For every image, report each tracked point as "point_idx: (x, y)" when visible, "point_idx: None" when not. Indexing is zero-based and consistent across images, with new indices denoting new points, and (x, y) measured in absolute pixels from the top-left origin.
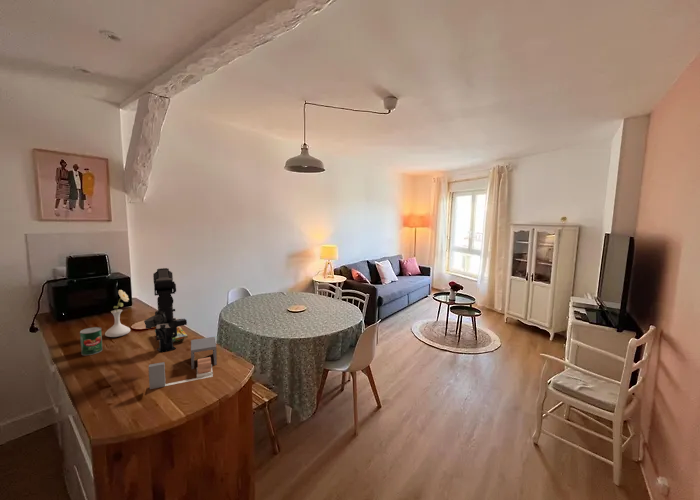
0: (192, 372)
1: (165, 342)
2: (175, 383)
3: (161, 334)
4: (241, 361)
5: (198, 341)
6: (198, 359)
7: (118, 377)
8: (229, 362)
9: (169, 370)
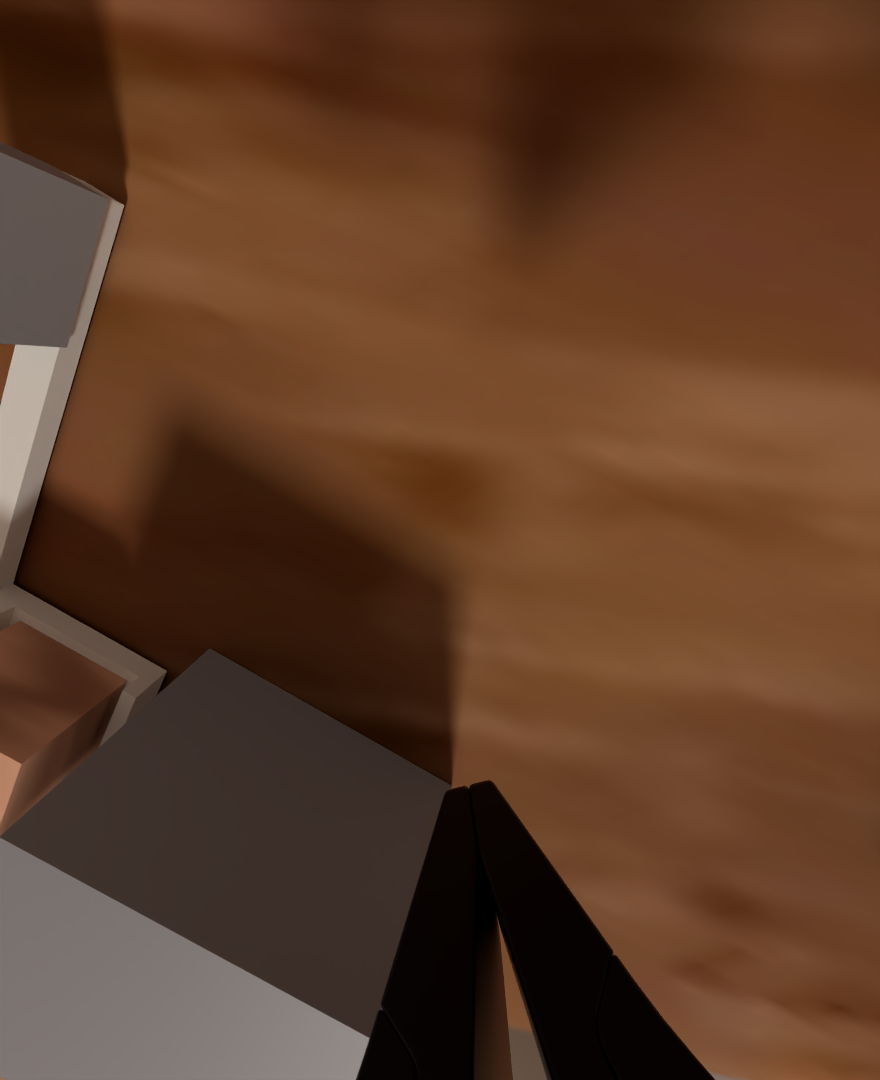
0: (194, 645)
1: (478, 803)
2: (9, 417)
3: (659, 1054)
4: None
5: (260, 1060)
6: (8, 764)
7: (802, 38)
8: None
9: (412, 548)
